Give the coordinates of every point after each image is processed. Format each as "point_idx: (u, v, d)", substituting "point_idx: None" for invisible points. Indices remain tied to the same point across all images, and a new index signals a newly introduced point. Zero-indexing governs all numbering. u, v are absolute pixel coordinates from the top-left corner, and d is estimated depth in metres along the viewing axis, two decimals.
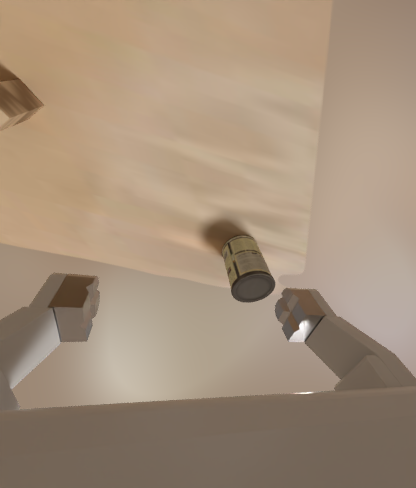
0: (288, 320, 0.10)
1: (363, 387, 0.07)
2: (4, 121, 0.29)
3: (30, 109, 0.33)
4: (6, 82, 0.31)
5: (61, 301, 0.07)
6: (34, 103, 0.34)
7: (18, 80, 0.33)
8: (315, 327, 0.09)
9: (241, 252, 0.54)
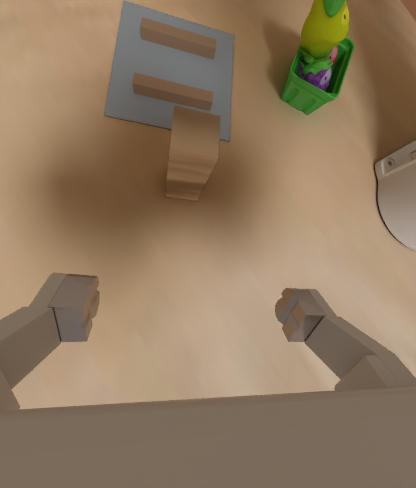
0: (288, 320, 0.10)
1: (363, 387, 0.07)
2: (207, 155, 0.18)
3: (203, 185, 0.24)
4: None
5: (61, 300, 0.07)
6: None
7: None
8: (315, 327, 0.09)
9: None
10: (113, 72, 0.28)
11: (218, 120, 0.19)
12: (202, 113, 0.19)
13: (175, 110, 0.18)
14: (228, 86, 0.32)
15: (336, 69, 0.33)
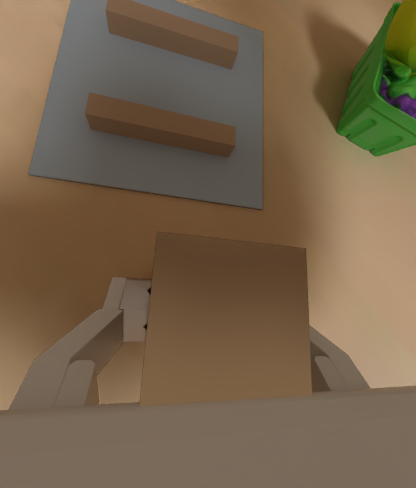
0: None
1: None
2: None
3: None
4: None
5: (129, 303, 0.07)
6: None
7: None
8: None
9: None
10: (52, 91, 0.15)
11: (301, 265, 0.06)
12: (252, 248, 0.06)
13: (162, 251, 0.05)
14: (257, 113, 0.19)
15: None
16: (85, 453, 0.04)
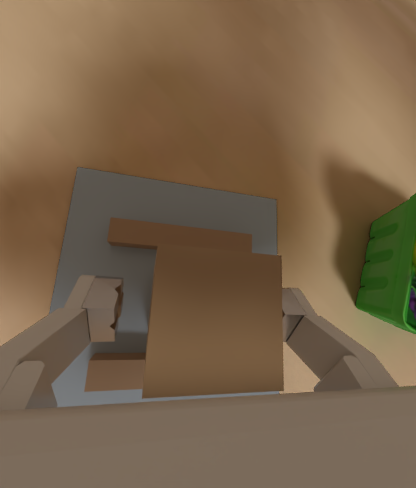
0: None
1: (340, 388, 0.07)
2: (254, 388, 0.06)
3: None
4: None
5: (93, 302, 0.07)
6: None
7: None
8: (296, 327, 0.09)
9: None
10: None
11: (276, 269, 0.07)
12: (235, 255, 0.07)
13: (161, 259, 0.06)
14: None
15: None
16: (85, 453, 0.04)
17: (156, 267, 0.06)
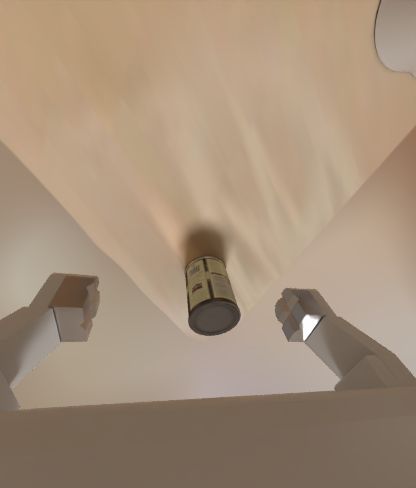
0: (288, 320, 0.10)
1: (363, 387, 0.07)
2: None
3: None
4: None
5: (61, 301, 0.07)
6: None
7: None
8: (315, 327, 0.09)
9: (218, 275, 0.47)
10: None
11: None
12: None
13: None
14: None
15: None
16: (85, 453, 0.04)
17: None
